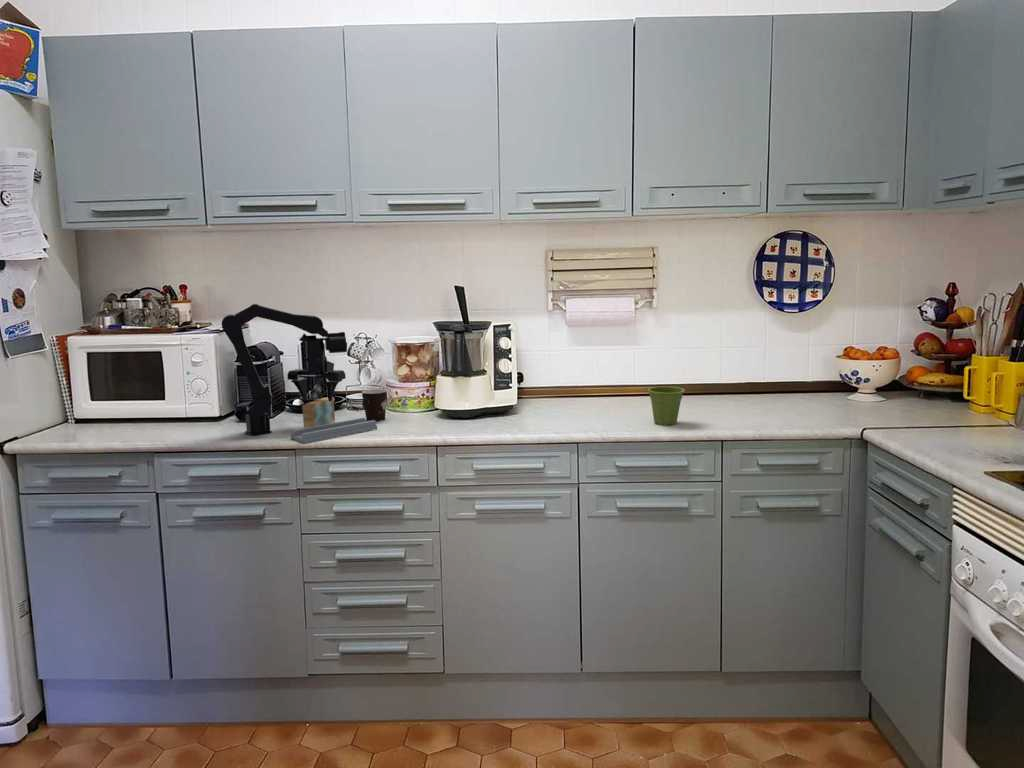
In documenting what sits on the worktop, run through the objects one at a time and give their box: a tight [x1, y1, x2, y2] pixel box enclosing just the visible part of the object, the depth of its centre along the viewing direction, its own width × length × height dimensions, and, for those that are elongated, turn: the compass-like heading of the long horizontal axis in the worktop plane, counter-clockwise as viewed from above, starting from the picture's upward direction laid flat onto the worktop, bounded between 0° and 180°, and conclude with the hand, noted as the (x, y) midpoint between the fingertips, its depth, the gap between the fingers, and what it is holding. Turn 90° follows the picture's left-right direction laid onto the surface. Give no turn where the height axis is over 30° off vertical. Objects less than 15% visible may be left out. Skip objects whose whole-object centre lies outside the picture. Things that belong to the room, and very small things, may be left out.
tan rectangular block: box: [301, 396, 336, 428], centre depth 258 cm, size 14×4×9 cm, turn 164°
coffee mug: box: [361, 388, 388, 422], centre depth 267 cm, size 12×9×10 cm
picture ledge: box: [290, 417, 378, 444], centre depth 248 cm, size 26×9×3 cm, turn 134°
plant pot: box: [647, 386, 686, 426], centre depth 252 cm, size 12×12×11 cm
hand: (317, 400), depth 257 cm, fingers open, 9 cm apart
